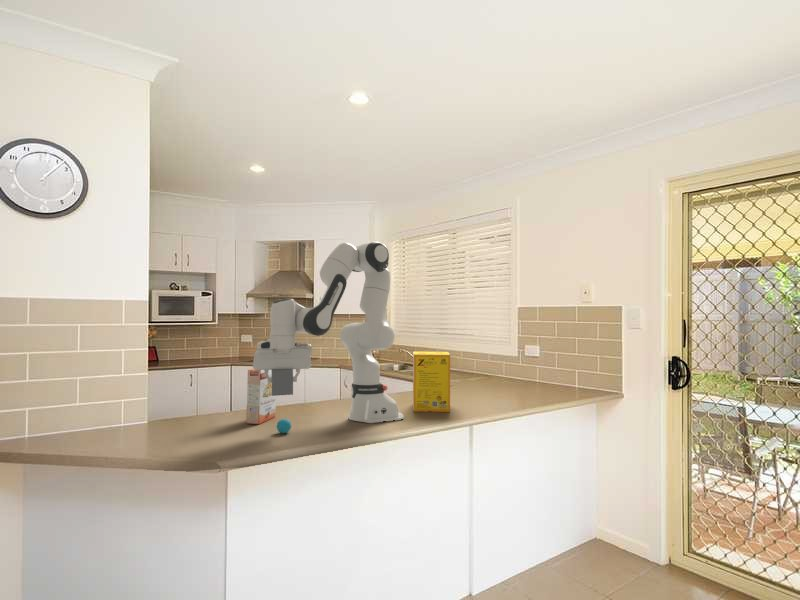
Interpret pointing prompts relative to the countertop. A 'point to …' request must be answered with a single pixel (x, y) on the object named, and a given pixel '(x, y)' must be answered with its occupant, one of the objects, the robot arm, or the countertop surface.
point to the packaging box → (431, 381)
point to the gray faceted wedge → (282, 382)
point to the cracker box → (259, 397)
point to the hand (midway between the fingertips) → (282, 382)
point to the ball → (283, 426)
